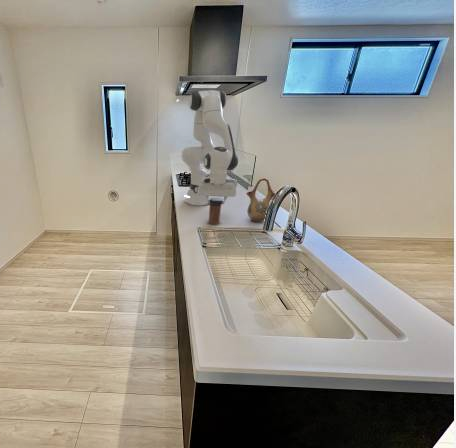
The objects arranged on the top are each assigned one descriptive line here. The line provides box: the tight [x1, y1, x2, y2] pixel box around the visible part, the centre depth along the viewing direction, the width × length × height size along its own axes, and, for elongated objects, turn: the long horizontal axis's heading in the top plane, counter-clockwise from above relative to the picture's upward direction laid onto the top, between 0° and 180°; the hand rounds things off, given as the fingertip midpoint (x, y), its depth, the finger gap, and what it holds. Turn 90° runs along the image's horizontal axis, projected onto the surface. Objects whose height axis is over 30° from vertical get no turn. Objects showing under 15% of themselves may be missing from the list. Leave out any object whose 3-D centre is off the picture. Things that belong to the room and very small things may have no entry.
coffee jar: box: [207, 204, 222, 226], centre depth 135 cm, size 6×6×13 cm
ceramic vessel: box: [246, 177, 276, 223], centre depth 135 cm, size 16×9×25 cm, turn 87°
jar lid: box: [209, 197, 223, 206], centre depth 132 cm, size 7×6×3 cm
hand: (215, 203), depth 133 cm, fingers closed on jar lid, 6 cm apart
